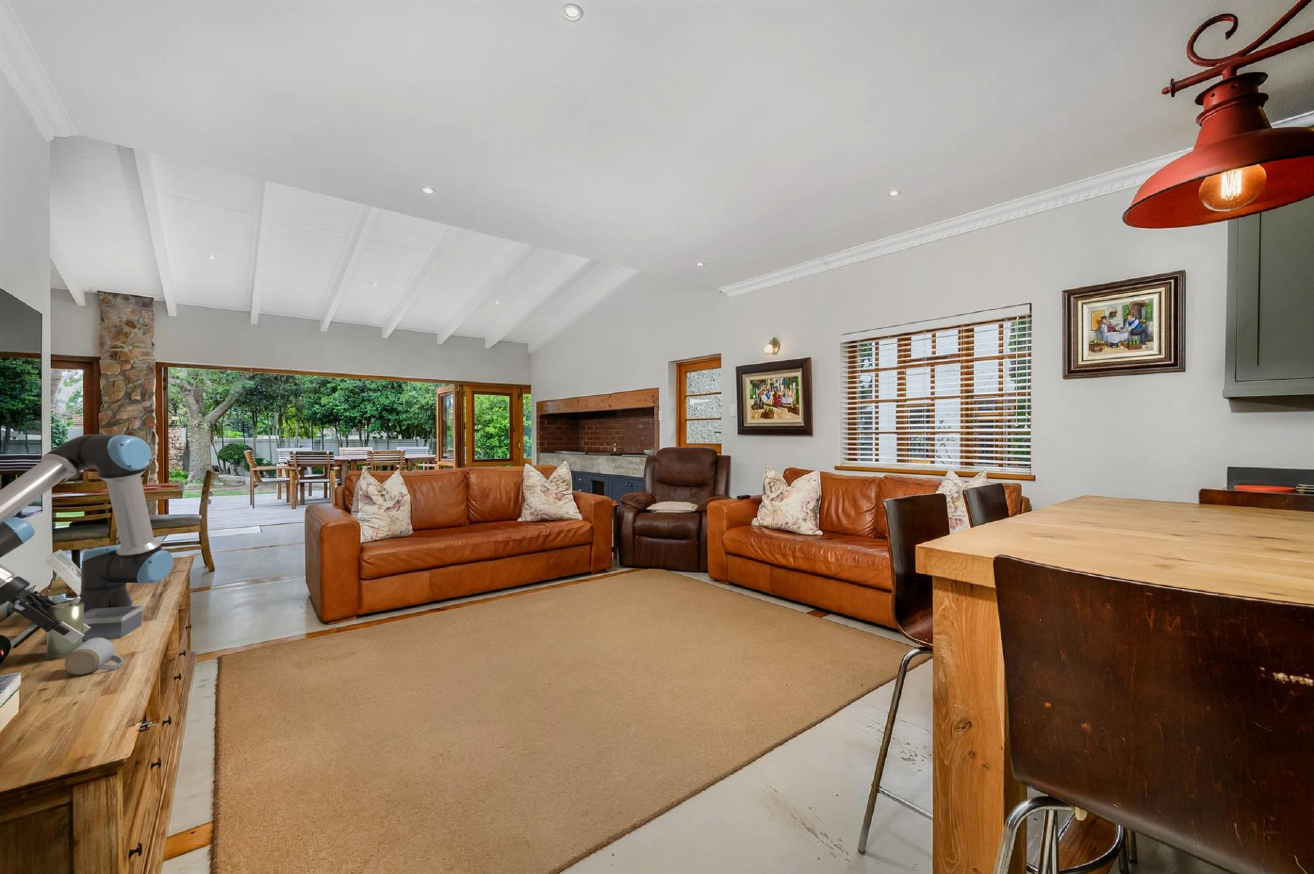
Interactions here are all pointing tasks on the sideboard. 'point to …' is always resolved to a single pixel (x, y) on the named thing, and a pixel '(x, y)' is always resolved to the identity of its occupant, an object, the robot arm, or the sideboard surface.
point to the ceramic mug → (92, 657)
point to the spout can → (70, 616)
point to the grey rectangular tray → (112, 622)
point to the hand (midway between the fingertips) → (82, 635)
